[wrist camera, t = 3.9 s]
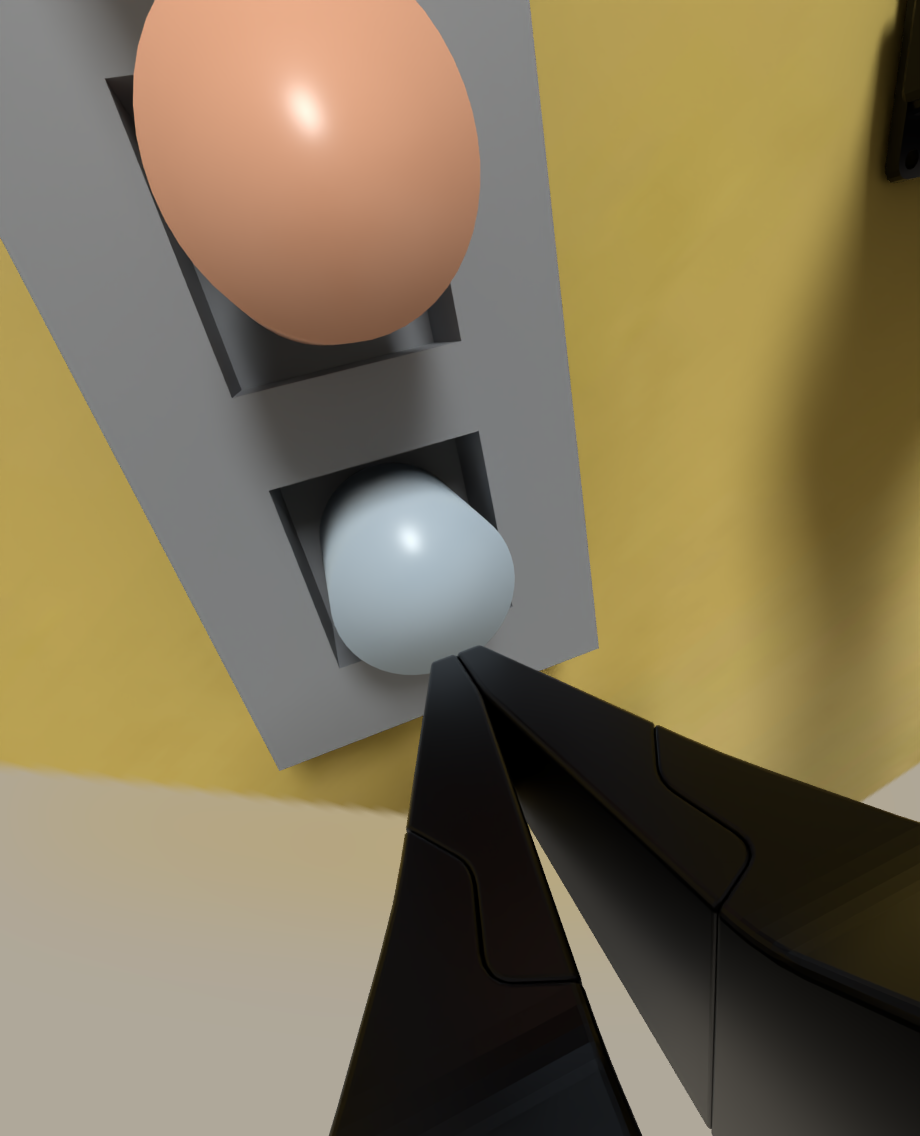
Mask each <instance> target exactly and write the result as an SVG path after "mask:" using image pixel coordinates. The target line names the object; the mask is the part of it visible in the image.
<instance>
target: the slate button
mask: <svg viewBox="0 0 920 1136" xmlns="http://www.w3.org/2000/svg"><path fill="white" fill-rule="evenodd" d="M320 545H321V551H322V558H323V564H324V571H325V577H326V583H327V590H328V596H329V602H330V609H331V615H332V618H333V622H334V625H335V627H336V630H337V632H338V634H339V636H340V637H341V639H342V640H343V642H344V643H345V645H346V646H347V647H348V648H349V649H350V650H351V651H352V652H353V653H354V654H355V655H356V656H357V657H359V658H360V659H361V660H363V661H364V662H366V663H368V664H369V665H371V666H373V667H375V668H378V669H380V670H383V671H387V672H390V673H395V674H402V675H421V674H429V673H430V669H431V664H432V663H433V662H434V661H436V660H439V659H442V658H445V657H447V656H450V655H456V656H457V655H458V653H459V652H461V651H464V650H466V649H469V648H472V647H474V646H477V645H481V646H485V645H486V644H487V643H488V641H489V640H490V639H491V638H492V637H493V636H494V635H495V633H496V632H497V630H498V629H499V628H500V626H501V624H502V623H503V621H504V619H505V617H506V615H507V613H508V610H509V608H510V605H511V601H512V598H513V592H514V584H515V574H514V565H513V561H512V557H511V554H510V551H509V549H508V547H507V544H506V543H505V541H504V539H503V538H502V536H501V535H500V534H499V532H498V531H497V530H496V529H495V528H494V527H493V526H492V525H491V524H490V523H489V522H488V521H487V520H486V519H484V518H483V517H482V516H481V515H480V514H479V513H478V512H476V511H475V510H474V509H473V508H472V507H471V506H469V505H468V504H467V503H466V502H465V501H464V500H462V499H461V498H460V497H459V496H458V495H457V494H456V493H454V492H453V491H452V490H451V489H450V488H449V487H447V486H446V485H445V484H444V483H443V482H442V481H440V480H439V479H438V478H437V477H436V476H434V475H433V474H431V473H430V472H428V471H426V470H424V469H422V468H419V467H416V466H413V465H409V464H403V463H385V464H379V465H374V466H371V467H368V468H366V469H363V470H361V471H359V472H357V473H355V474H354V475H352V476H351V477H349V478H348V479H347V480H345V481H344V482H343V483H342V484H341V485H340V486H339V487H338V488H337V489H336V491H335V492H334V493H333V494H332V496H331V498H330V499H329V501H328V502H327V505H326V507H325V509H324V512H323V515H322V518H321V524H320Z"/></svg>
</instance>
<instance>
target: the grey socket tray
mask: <svg viewBox="0 0 920 1136" xmlns="http://www.w3.org/2000/svg"><path fill="white" fill-rule="evenodd" d="M154 1H155V0H0V238H1V240H2V242H3V244H4V245H5V247H6V249H7V251H8V253H9V255H10V257H11V259H12V261H13V263H14V265H15V266H16V268H17V270H18V272H19V274H20V276H21V278H22V280H23V282H24V284H25V286H26V287H27V289H28V291H29V293H30V295H31V297H32V299H33V301H34V303H35V305H36V307H37V308H38V310H39V312H40V314H41V316H42V318H43V320H44V322H45V324H46V326H47V328H48V329H49V331H50V333H51V335H52V337H53V339H54V341H55V343H56V345H57V347H58V349H59V351H60V352H61V354H62V356H63V358H64V360H65V362H66V364H67V366H68V368H69V370H70V372H71V373H72V375H73V377H74V379H75V381H76V383H77V385H78V387H79V389H80V391H81V393H82V394H83V396H84V398H85V400H86V402H87V404H88V406H89V408H90V410H91V412H92V414H93V415H94V417H95V419H96V421H97V423H98V425H99V427H100V429H101V431H102V433H103V435H104V436H105V438H106V440H107V442H108V444H109V446H110V448H111V450H112V452H113V454H114V456H115V457H116V459H117V461H118V463H119V465H120V467H121V469H122V471H123V473H124V475H125V477H126V478H127V480H128V482H129V484H130V486H131V488H132V490H133V492H134V494H135V496H136V498H137V499H138V501H139V503H140V505H141V507H142V509H143V511H144V513H145V515H146V517H147V519H148V520H149V522H150V524H151V526H152V528H153V530H154V532H155V534H156V536H157V538H158V540H159V541H160V543H161V545H162V547H163V549H164V551H165V553H166V555H167V557H168V559H169V561H170V562H171V564H172V566H173V568H174V570H175V572H176V574H177V576H178V578H179V580H180V582H181V583H182V585H183V587H184V589H185V591H186V593H187V595H188V597H189V599H190V601H191V603H192V604H193V606H194V608H195V610H196V612H197V614H198V616H199V618H200V620H201V622H202V624H203V626H204V627H205V629H206V631H207V633H208V635H209V637H210V639H211V641H212V643H213V645H214V647H215V648H216V650H217V652H218V654H219V656H220V658H221V660H222V662H223V664H224V666H225V668H226V669H227V671H228V673H229V675H230V677H231V679H232V681H233V683H234V685H235V687H236V689H237V690H238V692H239V694H240V696H241V698H242V700H243V702H244V704H245V706H246V708H247V710H248V711H249V713H250V715H251V717H252V719H253V721H254V723H255V725H256V727H257V729H258V731H259V732H260V734H261V736H262V738H263V740H264V742H265V744H266V746H267V748H268V750H269V752H270V753H271V755H272V757H273V759H274V761H275V763H276V765H277V767H278V769H279V771H280V770H283V769H286V768H288V767H291V766H293V765H296V764H299V763H301V762H304V761H306V760H309V759H312V758H314V757H317V756H319V755H322V754H325V753H327V752H330V751H332V750H335V749H338V748H340V747H343V746H345V745H348V744H351V743H353V742H356V741H358V740H361V739H364V738H366V737H369V736H371V735H374V734H377V733H379V732H382V731H384V730H387V729H390V728H392V727H395V726H397V725H400V724H403V723H405V722H408V721H410V720H413V719H416V718H418V717H421V716H423V715H424V708H425V702H426V695H427V689H428V682H429V675H430V673H429V674H421V675H402V674H395V673H390V672H387V671H383V670H380V669H378V668H375V667H373V666H371V665H369V664H368V663H366V662H364V661H363V660H361V659H360V658H359V657H357V656H356V655H355V654H354V653H353V652H352V651H351V650H350V649H349V648H348V647H347V646H346V645H345V643H344V642H343V640H342V639H341V637H340V636H339V634H338V632H337V630H336V627H335V625H334V622H333V618H332V615H331V609H330V602H329V596H328V590H327V583H326V577H325V571H324V564H323V558H322V551H321V545H320V524H321V518H322V515H323V512H324V509H325V507H326V505H327V502H328V501H329V499H330V498H331V496H332V494H333V493H334V492H335V491H336V489H337V488H338V487H339V486H340V485H341V484H342V483H343V482H344V481H345V480H347V479H348V478H349V477H351V476H352V475H354V474H355V473H357V472H359V471H361V470H363V469H366V468H368V467H371V466H374V465H379V464H385V463H403V464H409V465H413V466H416V467H419V468H422V469H424V470H426V471H428V472H430V473H431V474H433V475H434V476H436V477H437V478H438V479H439V480H440V481H442V482H443V483H444V484H445V485H446V486H447V487H449V488H450V489H451V490H452V491H453V492H454V493H456V494H457V495H458V496H459V497H460V498H461V499H462V500H464V501H465V502H466V503H467V504H468V505H469V506H471V507H472V508H473V509H474V510H475V511H476V512H478V513H479V514H480V515H481V516H482V517H483V518H484V519H486V520H487V521H488V522H489V523H490V524H491V525H492V526H493V527H494V528H495V529H496V530H497V531H498V532H499V534H500V535H501V536H502V538H503V539H504V541H505V543H506V544H507V547H508V549H509V551H510V554H511V557H512V561H513V565H514V574H515V584H514V592H513V598H512V601H511V605H510V608H509V610H508V613H507V615H506V617H505V619H504V621H503V623H502V624H501V626H500V628H499V629H498V630H497V632H496V633H495V635H494V636H493V637H492V638H491V639H490V640H489V641H488V643H487V644H486V645H485V646H484V647H486V648H488V649H491V650H493V651H495V652H497V653H500V654H502V655H504V656H506V657H508V658H511V659H513V660H515V661H517V662H519V663H522V664H524V665H526V666H528V667H531V668H533V669H535V670H537V671H540V670H543V669H546V668H548V667H551V666H553V665H556V664H559V663H561V662H564V661H566V660H569V659H572V658H574V657H577V656H579V655H582V654H585V653H587V652H590V651H592V650H595V649H598V648H599V646H598V636H597V627H596V618H595V609H594V599H593V590H592V581H591V571H590V562H589V553H588V543H587V534H586V525H585V515H584V506H583V497H582V487H581V478H580V469H579V459H578V450H577V441H576V431H575V422H574V413H573V403H572V394H571V385H570V375H569V366H568V357H567V347H566V338H565V329H564V319H563V310H562V301H561V292H560V282H559V273H558V264H557V254H556V245H555V236H554V226H553V217H552V208H551V198H550V189H549V180H548V170H547V161H546V152H545V142H544V133H543V124H542V114H541V105H540V96H539V86H538V77H537V68H536V58H535V49H534V40H533V30H532V21H531V12H530V3H529V0H416V1H417V3H418V4H419V5H420V6H421V7H422V8H423V10H424V11H425V12H426V14H427V15H428V17H429V18H430V20H431V21H432V23H433V24H434V26H435V27H436V28H437V30H438V31H439V33H440V34H441V36H442V38H443V40H444V42H445V44H446V46H447V47H448V49H449V51H450V53H451V55H452V57H453V59H454V61H455V63H456V66H457V68H458V70H459V73H460V75H461V78H462V80H463V82H464V85H465V88H466V91H467V95H468V98H469V101H470V104H471V108H472V111H473V116H474V121H475V126H476V131H477V136H478V145H479V155H480V194H479V204H478V212H477V216H476V221H475V226H474V231H473V234H472V237H471V240H470V243H469V246H468V249H467V252H466V254H465V256H464V259H463V261H462V263H461V265H460V267H459V269H458V271H457V273H456V274H455V276H454V278H453V279H452V281H451V282H450V284H449V286H448V287H447V289H446V290H445V291H444V292H443V293H442V295H441V296H440V297H439V298H438V299H437V301H436V302H435V303H434V304H433V305H432V306H431V307H430V308H429V309H427V310H426V311H425V312H424V313H423V314H422V315H421V316H419V317H418V318H416V319H415V320H414V321H412V322H411V323H409V324H408V325H406V326H405V327H402V328H400V329H398V330H396V331H394V332H392V333H390V334H388V335H385V336H382V337H378V338H375V339H372V340H367V341H361V342H355V343H347V344H339V345H324V346H318V345H309V344H303V343H299V342H295V341H291V340H289V339H286V338H284V337H281V336H279V335H277V334H275V333H273V332H271V331H269V330H268V329H266V328H264V327H263V326H261V325H260V324H258V323H257V322H256V321H254V320H253V319H252V318H250V317H249V316H248V315H247V314H246V313H244V312H243V311H242V310H241V309H240V308H238V307H237V306H236V305H235V304H233V303H232V302H231V301H230V300H229V299H228V298H227V297H225V296H224V295H223V294H222V293H221V292H220V291H219V290H218V289H216V288H215V287H214V286H213V285H212V284H211V283H210V282H209V280H208V279H207V278H206V277H205V276H204V275H203V274H202V273H201V272H200V271H199V270H198V268H197V267H196V266H195V265H194V264H193V262H192V261H191V260H190V258H189V257H188V255H187V254H186V253H185V251H184V250H183V249H182V247H181V246H180V245H179V243H178V241H177V240H176V238H175V236H174V235H173V233H172V231H171V230H170V228H169V226H168V225H167V223H166V221H165V219H164V217H163V215H162V213H161V211H160V209H159V206H158V204H157V202H156V200H155V198H154V195H153V193H152V191H151V188H150V185H149V182H148V179H147V176H146V173H145V170H144V167H143V164H142V159H141V155H140V150H139V146H138V141H137V136H136V129H135V119H134V109H133V79H134V69H135V62H136V55H137V49H138V44H139V41H140V37H141V34H142V30H143V27H144V24H145V20H146V18H147V16H148V13H149V11H150V9H151V7H152V5H153V3H154Z"/></svg>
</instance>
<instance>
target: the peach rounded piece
mask: <svg viewBox="0 0 920 1136" xmlns="http://www.w3.org/2000/svg"><path fill="white" fill-rule="evenodd" d="M133 109H134V119H135V129H136V136H137V141H138V146H139V150H140V155H141V159H142V164H143V167H144V170H145V173H146V176H147V179H148V182H149V185H150V188H151V191H152V193H153V195H154V198H155V200H156V202H157V204H158V206H159V209H160V211H161V213H162V215H163V217H164V219H165V221H166V223H167V225H168V226H169V228H170V230H171V231H172V233H173V235H174V236H175V238H176V240H177V241H178V243H179V245H180V246H181V247H182V249H183V250H184V251H185V253H186V254H187V255H188V257H189V258H190V260H191V261H192V262H193V264H194V265H195V266H196V267H197V268H198V270H199V271H200V272H201V273H202V274H203V275H204V276H205V277H206V278H207V279H208V280H209V282H210V283H211V284H212V285H213V286H214V287H215V288H216V289H218V290H219V291H220V292H221V293H222V294H223V295H224V296H225V297H227V298H228V299H229V300H230V301H231V302H232V303H233V304H235V305H236V306H237V307H238V308H240V309H241V310H242V311H243V312H244V313H246V314H247V315H248V316H249V317H250V318H252V319H253V320H254V321H256V322H257V323H258V324H260V325H261V326H263V327H264V328H266V329H268V330H269V331H271V332H273V333H275V334H277V335H279V336H281V337H284V338H286V339H289V340H291V341H295V342H299V343H303V344H309V345H318V346H324V345H339V344H347V343H355V342H361V341H367V340H372V339H375V338H378V337H382V336H385V335H388V334H390V333H392V332H394V331H396V330H398V329H400V328H402V327H405V326H406V325H408V324H409V323H411V322H412V321H414V320H415V319H416V318H418V317H419V316H421V315H422V314H423V313H424V312H425V311H426V310H427V309H429V308H430V307H431V306H432V305H433V304H434V303H435V302H436V301H437V299H438V298H439V297H440V296H441V295H442V293H443V292H444V291H445V290H446V289H447V287H448V286H449V284H450V282H451V281H452V279H453V278H454V276H455V274H456V273H457V271H458V269H459V267H460V265H461V263H462V261H463V259H464V256H465V254H466V252H467V249H468V246H469V243H470V240H471V237H472V234H473V231H474V226H475V221H476V216H477V212H478V204H479V194H480V155H479V145H478V136H477V131H476V126H475V121H474V116H473V111H472V108H471V104H470V101H469V98H468V95H467V91H466V88H465V85H464V82H463V80H462V78H461V75H460V73H459V70H458V68H457V66H456V63H455V61H454V59H453V57H452V55H451V53H450V51H449V49H448V47H447V46H446V44H445V42H444V40H443V38H442V36H441V34H440V33H439V31H438V30H437V28H436V27H435V26H434V24H433V23H432V21H431V20H430V18H429V17H428V15H427V14H426V12H425V11H424V10H423V8H422V7H421V6H420V5H419V4H418V3H417V1H416V0H155V1H154V3H153V5H152V7H151V9H150V11H149V13H148V16H147V18H146V20H145V24H144V27H143V30H142V34H141V37H140V41H139V44H138V49H137V55H136V62H135V69H134V79H133Z"/></svg>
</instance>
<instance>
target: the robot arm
mask: <svg viewBox="0 0 920 1136" xmlns="http://www.w3.org/2000/svg"><path fill="white" fill-rule="evenodd" d="M885 174H886V177H887V180H888V181H889V182H890V183H898V182H902V181H907V180H911V179H916V178H920V0H908V1H907V9H906V16H905V24H904V31H903V39H902V46H901V54H900V61H899V68H898V76H897V83H896V91H895V98H894V106H893V113H892V121H891V128H890V136H889V143H888V151H887V158H886V166H885ZM526 821H527V822H526ZM527 823H528V825H529V827H530V828H531V830H532V832H533V833H534V835H535V837H536V838H537V840H538V842H539V843H540V845H541V847H542V848H543V850H544V852H545V854H546V855H547V857H548V859H549V860H550V862H551V864H552V865H553V867H554V869H555V870H556V872H557V874H558V875H559V877H560V879H561V880H562V882H563V884H564V886H565V887H566V889H567V891H568V892H569V894H570V896H571V897H572V899H573V901H574V902H575V904H576V906H577V907H578V909H579V911H580V913H581V914H582V916H583V918H584V919H585V921H586V923H587V924H588V926H589V928H590V929H591V931H592V933H593V934H594V936H595V938H596V939H597V941H598V943H599V945H600V946H601V948H602V949H603V951H604V953H605V954H606V956H607V958H608V960H609V961H610V963H611V965H612V967H613V968H614V970H615V972H616V973H617V975H618V977H619V978H620V980H621V982H622V983H623V985H624V987H625V988H626V990H627V992H628V993H629V995H630V997H631V999H632V1000H633V1002H634V1003H635V1005H636V1007H637V1009H638V1010H639V1012H640V1014H641V1015H642V1017H643V1019H644V1020H645V1022H646V1024H647V1025H648V1027H649V1029H650V1031H651V1032H652V1034H653V1036H654V1037H655V1039H656V1041H657V1042H658V1044H659V1046H660V1047H661V1049H662V1051H663V1053H664V1054H665V1056H666V1058H667V1059H668V1061H669V1063H670V1064H671V1066H672V1068H673V1069H674V1071H675V1073H676V1074H677V1076H678V1078H679V1080H680V1081H681V1083H682V1085H683V1086H684V1088H685V1090H686V1091H687V1093H688V1094H689V1096H690V1098H691V1100H692V1101H693V1103H694V1105H695V1107H696V1108H697V1110H698V1112H699V1113H700V1115H701V1117H702V1118H703V1120H704V1122H705V1123H706V1125H707V1126H708V1128H710V1129H712V1135H713V1136H920V822H917V821H914V820H911V819H908V818H905V817H901V816H898V815H895V814H893V813H890V812H887V811H884V810H881V809H878V808H875V807H872V806H870V805H867V804H864V803H861V802H858V801H855V800H853V799H850V798H847V797H844V796H841V795H838V794H836V793H833V792H830V791H827V790H824V789H821V788H818V787H816V786H813V785H810V784H807V783H804V782H801V781H798V780H796V779H793V778H790V777H787V776H784V775H781V774H778V773H776V772H773V771H770V770H767V769H765V768H762V767H759V766H757V765H754V764H751V763H749V762H746V761H743V760H741V759H738V758H735V757H732V756H730V755H727V754H724V753H722V752H720V751H717V750H715V749H713V748H710V747H708V746H705V745H703V744H701V743H698V742H696V741H694V740H691V739H689V738H686V737H684V736H682V735H680V734H677V733H675V732H673V731H671V730H669V729H666V728H664V727H662V726H660V725H657V726H655V727H654V724H653V723H652V722H650V721H648V720H646V719H644V718H641V717H639V716H637V715H635V714H633V713H630V712H628V711H626V710H624V709H621V708H619V707H617V706H615V705H613V704H610V703H608V702H606V701H604V700H602V699H599V698H597V697H595V696H593V695H590V694H588V693H586V692H584V691H582V690H579V689H577V688H575V687H573V686H570V685H568V684H566V683H564V682H562V681H559V680H557V679H555V678H553V677H551V676H548V675H546V674H544V673H542V672H539V671H537V670H535V669H533V668H531V667H528V666H526V665H524V664H522V663H519V662H517V661H515V660H513V659H511V658H508V657H506V656H504V655H502V654H500V653H497V652H495V651H493V650H491V649H488V648H486V647H484V646H481V645H477V646H474V647H472V648H469V649H466V650H464V651H461V652H459V653H458V655H457V656H456V655H450V656H447V657H445V658H442V659H439V660H436V661H434V662H433V663H432V664H431V669H430V675H429V682H428V689H427V695H426V702H425V708H424V715H423V721H422V728H421V734H420V741H419V748H418V754H417V761H416V767H415V774H414V780H413V787H412V794H411V800H410V807H409V813H408V820H407V826H406V830H407V833H406V834H405V838H404V845H403V851H402V857H401V863H400V869H399V874H398V879H397V885H396V890H395V895H394V901H393V905H392V910H391V913H390V917H389V922H388V926H387V930H386V933H385V937H384V942H383V946H382V949H381V953H380V957H379V961H378V964H377V969H376V971H375V975H374V979H373V982H372V986H371V989H370V993H369V996H368V1000H367V1004H366V1007H365V1011H364V1014H363V1018H362V1021H361V1025H360V1028H359V1032H358V1036H357V1039H356V1043H355V1046H354V1050H353V1053H352V1057H351V1060H350V1064H349V1068H348V1071H347V1075H346V1079H345V1082H344V1085H343V1089H342V1093H341V1096H340V1100H339V1103H338V1107H337V1111H336V1114H335V1117H334V1120H333V1124H332V1127H331V1130H330V1134H329V1136H642V1134H641V1132H640V1129H639V1127H638V1125H637V1122H636V1120H635V1118H634V1115H633V1113H632V1110H631V1108H630V1106H629V1103H628V1101H627V1099H626V1096H625V1094H624V1092H623V1089H622V1087H621V1085H620V1082H619V1080H618V1077H617V1075H616V1072H615V1070H614V1067H613V1065H612V1063H611V1060H610V1057H609V1055H608V1052H607V1049H606V1047H605V1044H604V1042H603V1039H602V1036H601V1034H600V1031H599V1028H598V1026H597V1023H596V1020H595V1017H594V1015H593V1012H592V1009H591V1006H590V1003H589V1000H588V998H587V995H586V992H585V990H584V988H583V986H582V982H581V977H580V975H579V972H578V969H577V966H576V963H575V960H574V957H573V954H572V952H571V949H570V946H569V943H568V940H567V937H566V934H565V931H564V928H563V925H562V923H561V920H560V917H559V914H558V911H557V908H556V905H555V902H554V900H553V897H552V894H551V891H550V888H549V885H548V882H547V880H546V876H545V874H544V871H543V868H542V865H541V862H540V859H539V856H538V853H537V850H536V848H535V845H534V842H533V839H532V836H531V833H530V830H529V827H528V825H527Z"/></svg>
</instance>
